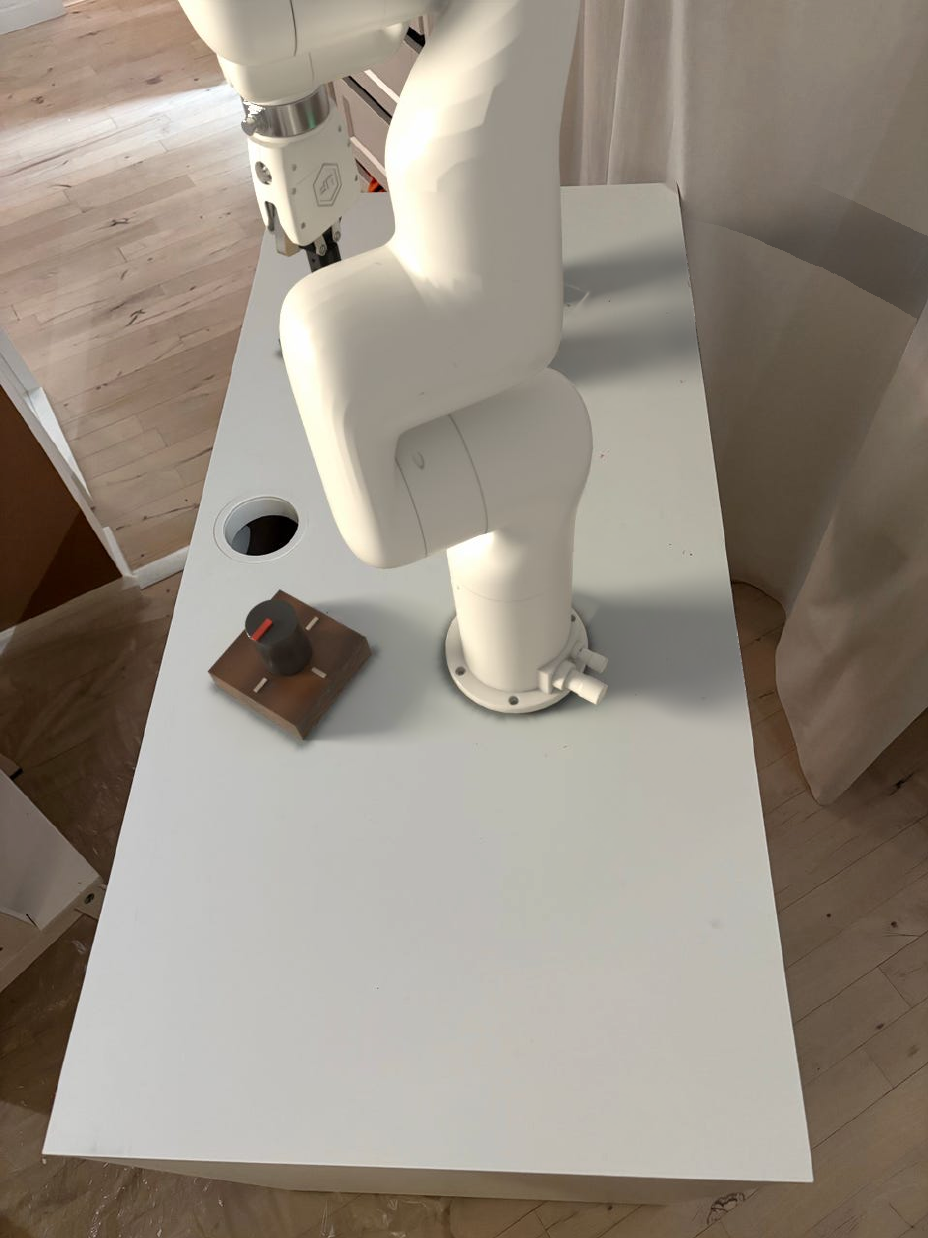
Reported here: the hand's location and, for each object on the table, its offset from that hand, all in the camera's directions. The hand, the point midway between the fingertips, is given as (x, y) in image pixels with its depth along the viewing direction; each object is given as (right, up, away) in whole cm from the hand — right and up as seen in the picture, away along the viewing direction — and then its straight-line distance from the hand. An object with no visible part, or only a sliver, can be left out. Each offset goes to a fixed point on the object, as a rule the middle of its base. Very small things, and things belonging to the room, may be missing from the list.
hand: (328, 276), depth 99 cm
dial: (-1, -39, -17) cm, 42 cm away
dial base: (-1, -40, -14) cm, 43 cm away
